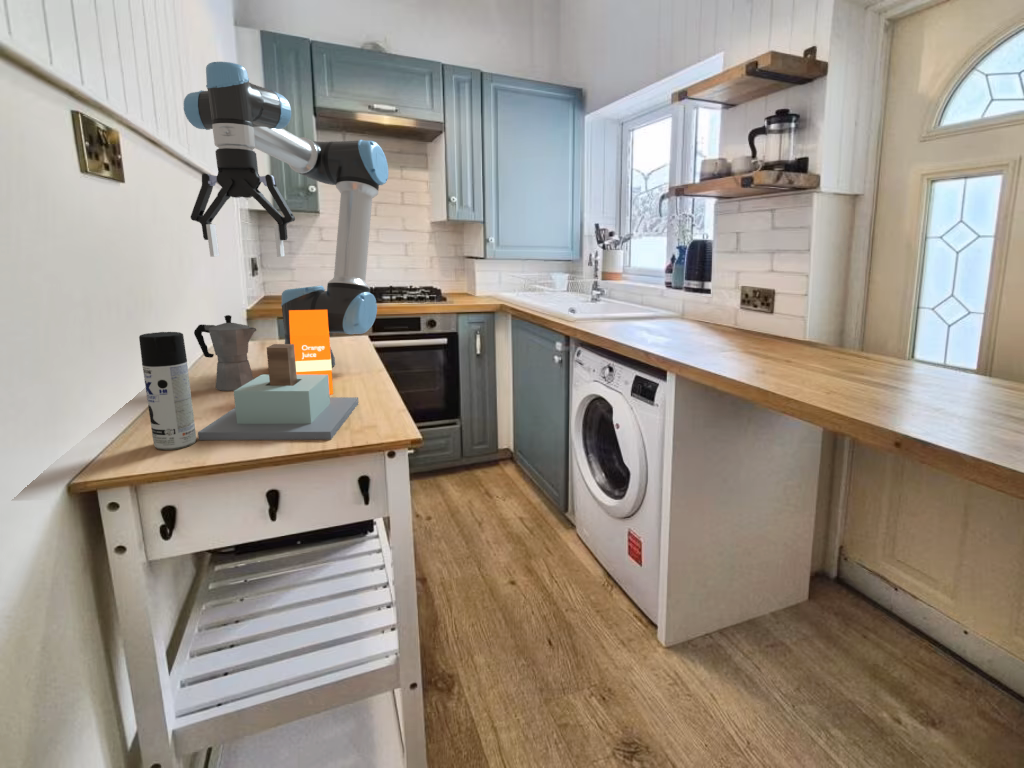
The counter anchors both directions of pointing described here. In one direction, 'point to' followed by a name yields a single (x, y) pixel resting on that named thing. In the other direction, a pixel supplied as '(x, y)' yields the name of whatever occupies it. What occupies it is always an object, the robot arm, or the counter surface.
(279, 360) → the peg
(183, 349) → the spray can
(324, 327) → the orange juice
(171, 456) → the counter surface
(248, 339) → the coffeepot
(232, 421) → the socket block
